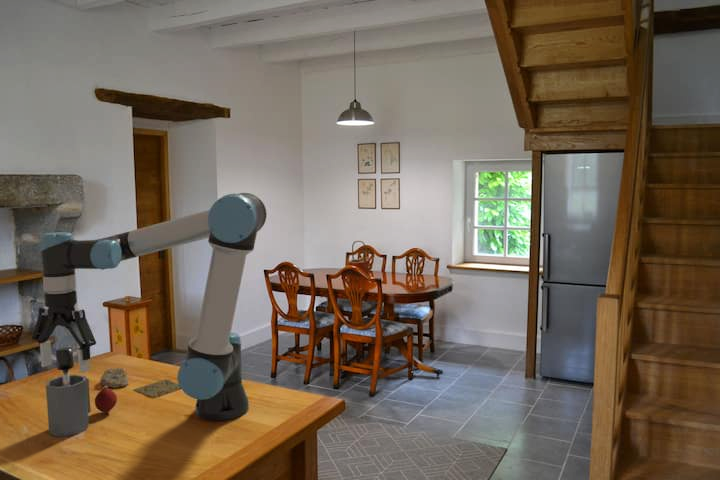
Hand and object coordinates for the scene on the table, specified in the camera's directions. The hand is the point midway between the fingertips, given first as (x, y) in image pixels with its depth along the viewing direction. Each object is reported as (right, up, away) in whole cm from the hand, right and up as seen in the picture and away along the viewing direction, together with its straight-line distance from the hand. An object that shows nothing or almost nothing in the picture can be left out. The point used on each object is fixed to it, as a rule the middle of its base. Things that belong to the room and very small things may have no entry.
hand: (65, 368), depth 154 cm
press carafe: (0, -17, +2) cm, 17 cm away
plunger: (0, -13, +1) cm, 13 cm away
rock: (-2, -14, +36) cm, 38 cm away
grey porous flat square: (+14, -14, +31) cm, 37 cm away
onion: (+6, -16, +12) cm, 21 cm away
